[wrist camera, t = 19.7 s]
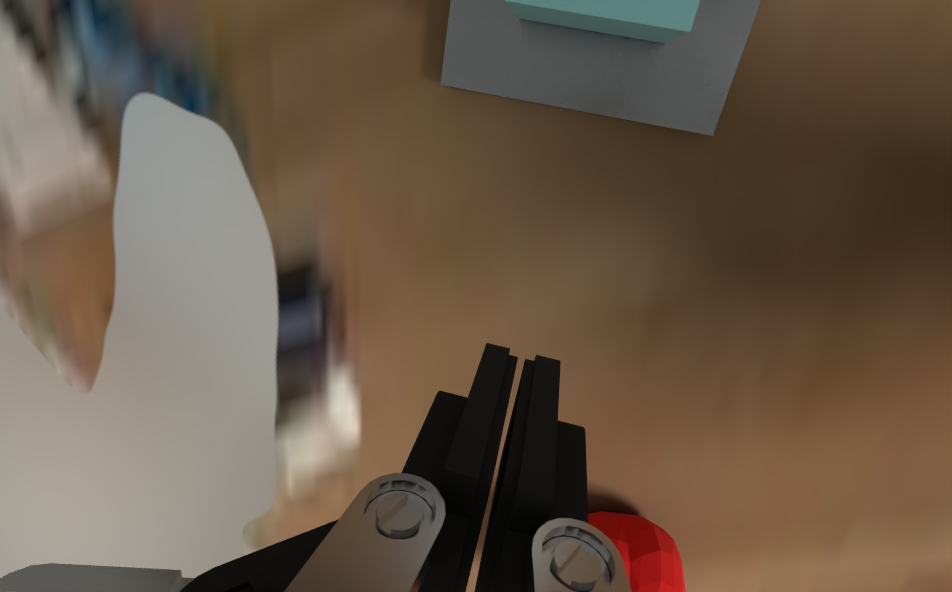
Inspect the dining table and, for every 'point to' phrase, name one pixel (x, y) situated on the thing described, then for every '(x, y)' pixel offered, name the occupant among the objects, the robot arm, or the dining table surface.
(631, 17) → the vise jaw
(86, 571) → the robot arm
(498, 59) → the base
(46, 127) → the dining table surface
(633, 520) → the tomato
